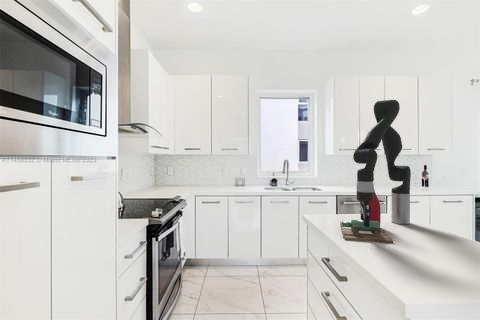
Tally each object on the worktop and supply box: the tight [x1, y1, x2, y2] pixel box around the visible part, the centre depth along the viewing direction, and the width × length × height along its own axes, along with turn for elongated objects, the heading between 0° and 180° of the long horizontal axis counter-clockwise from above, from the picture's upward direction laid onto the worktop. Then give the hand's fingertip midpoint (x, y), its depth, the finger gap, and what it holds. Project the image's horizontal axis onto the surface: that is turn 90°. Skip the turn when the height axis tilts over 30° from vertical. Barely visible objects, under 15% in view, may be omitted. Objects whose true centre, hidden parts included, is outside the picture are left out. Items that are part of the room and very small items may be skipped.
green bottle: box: [339, 219, 381, 232], centre depth 132 cm, size 17×5×5 cm, turn 75°
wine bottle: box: [366, 172, 382, 224], centre depth 149 cm, size 10×10×30 cm
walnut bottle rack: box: [340, 226, 394, 244], centre depth 131 cm, size 18×20×6 cm
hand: (365, 224), depth 131 cm, fingers open, 8 cm apart
